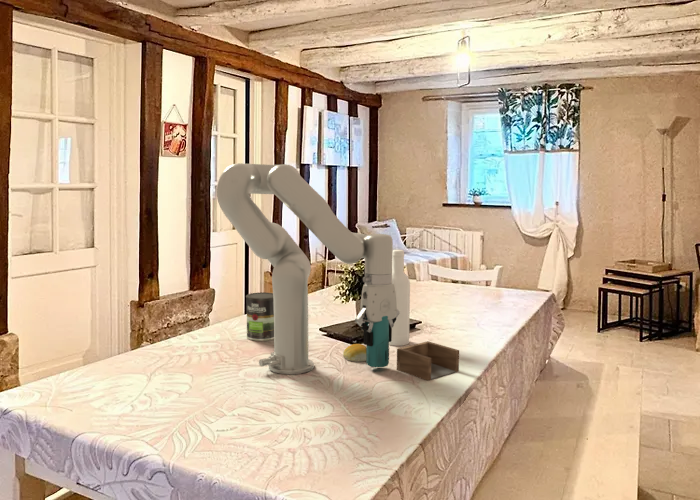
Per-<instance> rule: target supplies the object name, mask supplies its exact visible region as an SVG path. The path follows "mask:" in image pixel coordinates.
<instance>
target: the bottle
mask: <svg viewBox="0 0 700 500" xmlns="http://www.w3.org/2000/svg"><path fill="white" fill-rule="evenodd" d="M404 266H405V250H403V249H393V250H392V283H394V286H395V291H396V299H397V309H398V310H399V312H400V314H399V315H398V317H397V318H396V321H395V323H394V326H393V327H392V341H391V342H389V346H395V347H404V346H408V345H409V343H410V313H411V311H410V310H411V309H410V308H411V307H410V306H411V305H410V304H411V282H410V279H409V276H408V275H407V274H406V273H405V272H404V270H405V268H404Z"/></svg>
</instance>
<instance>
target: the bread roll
mask: <svg viewBox="0 0 700 500" xmlns="http://www.w3.org/2000/svg"><path fill="white" fill-rule="evenodd" d="M342 356H343V357H344V358H345V360H347V361H349V362H355V363H357V362H358V363H359V362H367V359H366V358H367V357H366V345H364V344H362V343H353V344H350V345H348V346H347V347H345V349H343V352H342Z"/></svg>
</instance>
